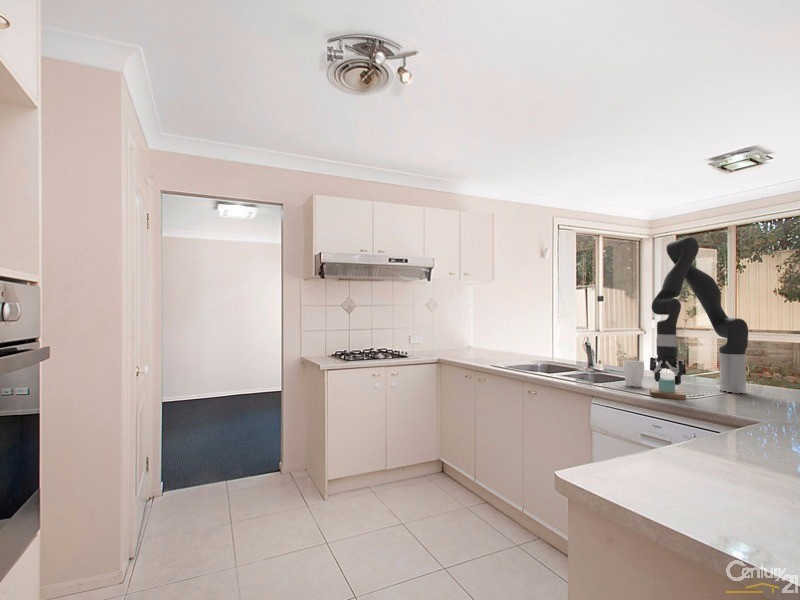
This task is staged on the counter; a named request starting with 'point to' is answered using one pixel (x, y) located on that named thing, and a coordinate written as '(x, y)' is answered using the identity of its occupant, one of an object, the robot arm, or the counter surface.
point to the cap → (666, 385)
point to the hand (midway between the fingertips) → (667, 383)
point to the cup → (633, 372)
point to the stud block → (667, 394)
